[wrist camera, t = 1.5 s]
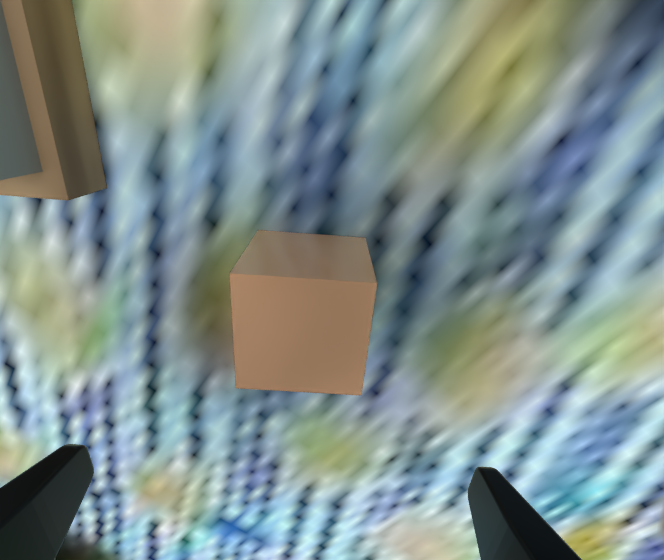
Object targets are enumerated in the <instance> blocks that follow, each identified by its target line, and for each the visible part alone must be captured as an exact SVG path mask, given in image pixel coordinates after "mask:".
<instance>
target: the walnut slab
mask: <svg viewBox="0 0 664 560" xmlns="http://www.w3.org/2000/svg"><path fill="white" fill-rule="evenodd" d="M1 4H2V8H3V12H4V16H5V20H6V24H7V28H8V32H9V36H10V40H11V44H12V48H13V52H14V57H15V61H16V65H17V69H18V73H19V77H20V81H21V85H22V89H23V93H24V97H25V101H26V105H27V110H28V114H29V118H30V122H31V126H32V130H33V134H34V138H35V142H36V146H37V150H38V154H39V158H40V163H41V167H42V171H43V172H38V173H33V174H29V175H24V176H19V177H14V178H9V179H4V180H0V195H8V196H20V197H33V198H45V199H58V200H71V199H74V198H77V197H81V196H84V195H87V194H90V193H93V192H96V191H99V190H102V189H105V188H107V185H106V180H105V175H104V169H103V164H102V159H101V153H100V148H99V143H98V137H97V132H96V127H95V122H94V116H93V111H92V106H91V100H90V95H89V90H88V85H87V79H86V74H85V69H84V63H83V58H82V53H81V48H80V42H79V37H78V32H77V26H76V21H75V16H74V10H73V5H72V0H1Z"/></svg>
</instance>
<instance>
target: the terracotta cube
mask: <svg viewBox="0 0 664 560" xmlns="http://www.w3.org/2000/svg"><path fill="white" fill-rule="evenodd" d="M376 288H377V280H376V277H375V273H374V269H373V265H372V261H371V258H370V254H369V250H368V246H367V242H366V239H365V238H364V237H350V236H336V235H322V234H307V233H293V232H279V231H265V230H257V232H256V233H255V235H254V237H253V238H252V240H251V241H250V243H249V244H248V246H247V247H246V249H245V250H244V252H243V253H242V255H241V256H240V258H239V260H238V261H237V263H236V264H235V266H234V267H233V269H232V270H231V272H230V291H231V309H232V327H233V345H234V362H235V380H236V388H241V389H258V390H276V391H293V392H311V393H328V394H346V395H362V388H363V381H364V374H365V366H366V359H367V352H368V345H369V338H370V331H371V324H372V317H373V309H374V302H375V295H376Z"/></svg>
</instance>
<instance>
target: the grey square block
mask: <svg viewBox="0 0 664 560" xmlns="http://www.w3.org/2000/svg"><path fill="white" fill-rule="evenodd" d="M38 172H43V171H42V167H41V163H40V158H39V154H38V150H37V146H36V142H35V138H34V134H33V130H32V126H31V122H30V118H29V114H28V110H27V105H26V101H25V97H24V93H23V89H22V85H21V81H20V77H19V73H18V69H17V65H16V61H15V57H14V52H13V48H12V44H11V40H10V36H9V32H8V28H7V24H6V20H5V16H4V12H3V8H2V4H1V0H0V180H4V179H9V178H14V177H19V176H24V175H29V174H33V173H38Z"/></svg>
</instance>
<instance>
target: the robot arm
mask: <svg viewBox="0 0 664 560" xmlns="http://www.w3.org/2000/svg"><path fill="white" fill-rule="evenodd" d="M93 473H94V468H93V464H92V461H91V458H90V455H89V452H88V449H87V447H86V446H84V445H77V444H67V445H64V446H62V447H60V448H59V449H57V450H56V451H54V452H53V453H51V454H50V455H48V456H47V457H45V458H44V459H42V460H41V461H39V462H38V463H36V464H35V465H33V466H32V467H31V468H29V469H28V470H26V471H25V472H23V473H22V474H20V475H19V476H17V477H16V478H14V479H13V480H11V481H10V482H8V483H7V484H5V485H4V486H2V487H1V488H0V560H54V559H55V557H56V556H57V554H58V552H59V549H60V547H61V545H62V543H63V541H64V539H65V537H66V535H67V533H68V530H69V528H70V526H71V524H72V522H73V520H74V517H75V515H76V513H77V511H78V509H79V507H80V504H81V502H82V500H83V498H84V496H85V493H86V491H87V489H88V487H89V485H90V483H91V480H92V477H93ZM468 500H469V505H470V510H471V515H472V519H473V524H474V529H475V534H476V538H477V543H478V548H479V553H480V557H481V560H582V559H581V558H580V557H579V556H578V555H577V554H576V553H575V552H574V551H573V550H572V549H571V548H570V547H569V546H568V545H567V543H566V542H565V541H564V540H563V539H562V538H561V537H560V536H559V535H558V534H557V533H556V532H555V531H554V530H553V529H552V528H551V526H550V525H549V524H548V523H547V522H546V521H545V520H544V519H543V518H542V517H541V516H540V515H539V514H538V513H537V512H536V511H535V509H534V508H533V507H532V506H531V505H530V504H529V503H528V502H527V501H526V500H525V499H524V498H523V497H522V496H521V495H520V494H519V492H518V491H517V490H516V489H515V488H514V487H513V486H512V485H511V484H510V483H509V482H508V481H507V480H506V479H505V478H504V477H503V475H502V474H501V473H500V472H499V471H498V470H496V469H495V468H492V467H477V468H476V469H475V472H474V474H473V477H472V480H471V483H470V485H469V488H468Z"/></svg>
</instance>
